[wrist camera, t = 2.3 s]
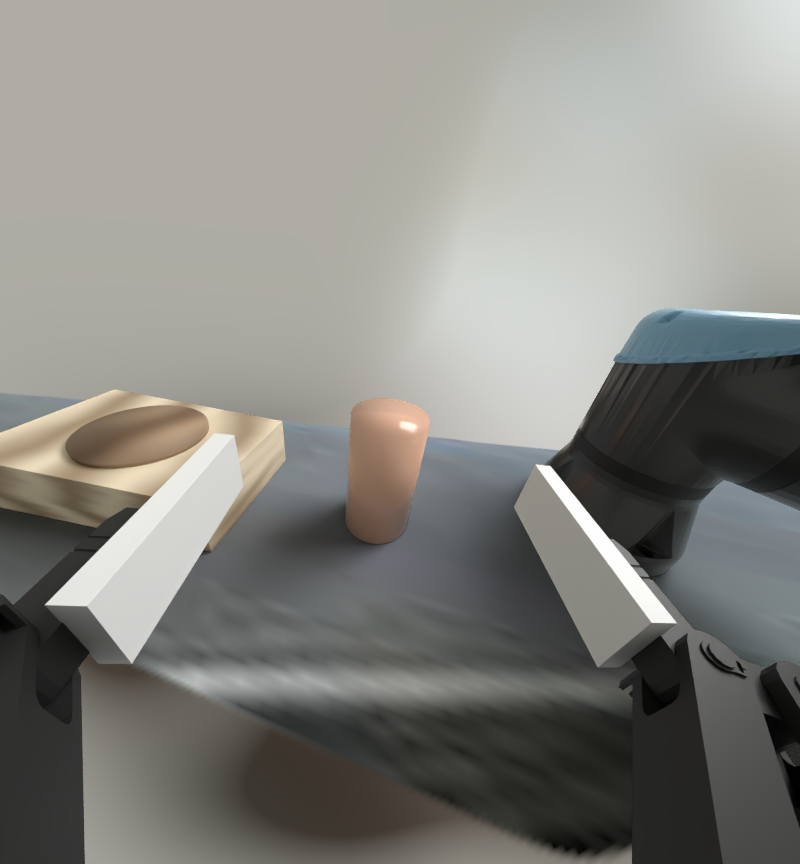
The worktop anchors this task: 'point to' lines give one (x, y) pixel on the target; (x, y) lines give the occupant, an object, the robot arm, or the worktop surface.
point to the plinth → (125, 456)
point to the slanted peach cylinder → (383, 467)
